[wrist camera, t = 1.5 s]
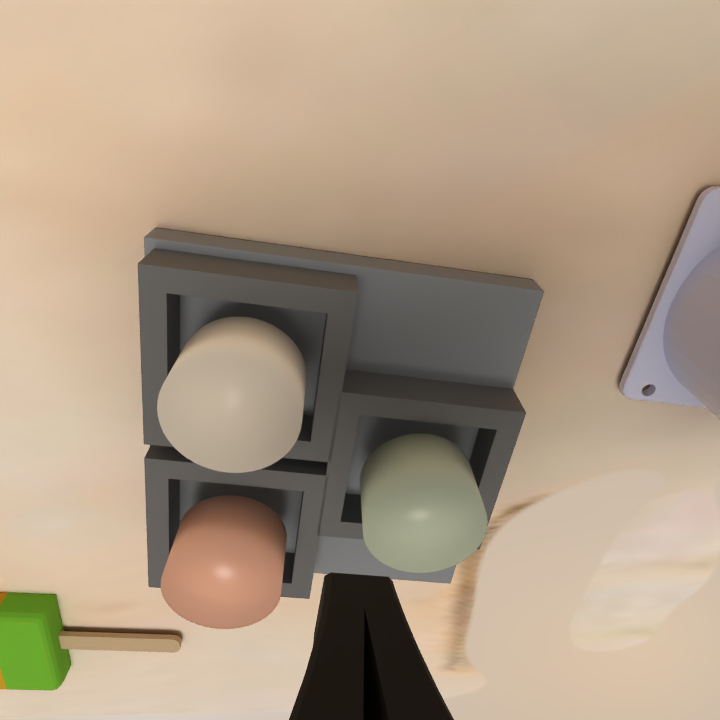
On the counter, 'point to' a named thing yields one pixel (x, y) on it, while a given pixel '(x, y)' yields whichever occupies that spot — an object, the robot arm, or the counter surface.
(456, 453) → the sage button
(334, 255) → the grey compartment tray
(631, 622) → the counter surface
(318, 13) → the counter surface
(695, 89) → the counter surface
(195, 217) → the counter surface
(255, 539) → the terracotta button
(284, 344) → the cream button
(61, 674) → the striped ice pop
